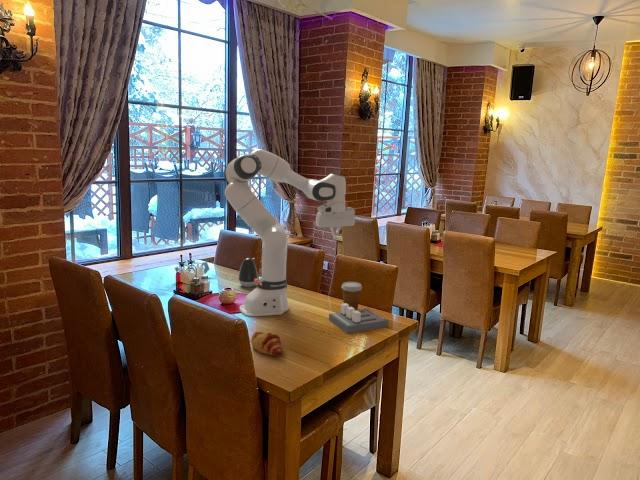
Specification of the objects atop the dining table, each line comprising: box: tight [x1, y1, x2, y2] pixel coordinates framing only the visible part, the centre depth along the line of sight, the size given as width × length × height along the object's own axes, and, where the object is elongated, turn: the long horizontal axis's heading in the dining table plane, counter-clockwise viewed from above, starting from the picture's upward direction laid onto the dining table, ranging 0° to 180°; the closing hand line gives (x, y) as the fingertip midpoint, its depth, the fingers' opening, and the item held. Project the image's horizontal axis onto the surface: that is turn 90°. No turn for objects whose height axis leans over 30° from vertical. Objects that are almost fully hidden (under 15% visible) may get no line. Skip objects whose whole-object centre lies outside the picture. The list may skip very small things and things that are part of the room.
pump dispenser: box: [238, 257, 259, 288], centre depth 252 cm, size 10×10×15 cm
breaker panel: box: [328, 307, 389, 334], centre depth 204 cm, size 20×16×3 cm
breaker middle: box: [346, 307, 355, 319], centre depth 202 cm, size 2×3×4 cm
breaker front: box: [352, 311, 361, 323], centre depth 197 cm, size 2×3×4 cm
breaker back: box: [340, 302, 349, 315], centre depth 206 cm, size 2×3×4 cm
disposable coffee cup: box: [341, 281, 363, 310], centre depth 221 cm, size 10×10×12 cm
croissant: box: [250, 331, 283, 357], centre depth 176 cm, size 21×10×8 cm, turn 35°
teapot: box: [174, 259, 210, 274], centre depth 261 cm, size 15×15×11 cm
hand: (335, 235), depth 234 cm, fingers closed
